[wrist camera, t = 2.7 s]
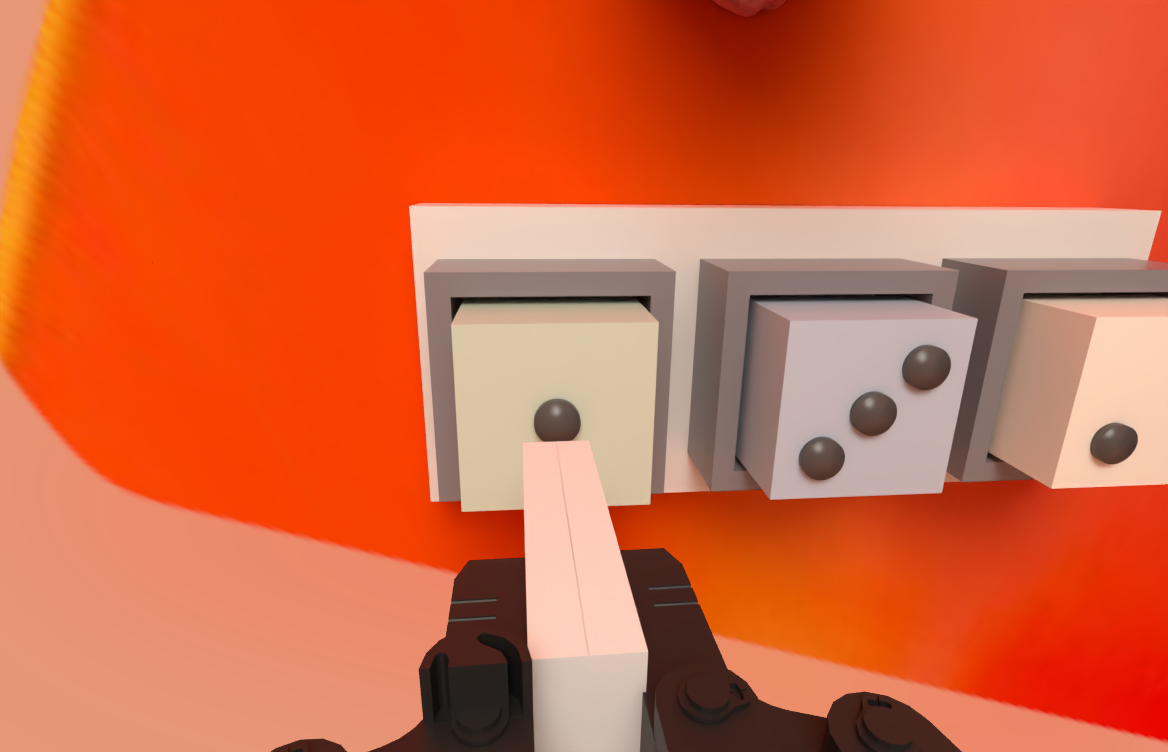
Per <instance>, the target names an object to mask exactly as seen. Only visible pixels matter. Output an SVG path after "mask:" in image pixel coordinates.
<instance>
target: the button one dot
mask: <svg viewBox="0 0 1168 752" xmlns="http://www.w3.org/2000/svg"><path fill="white" fill-rule="evenodd" d="M658 330H659V322H658V321H657V320H656V319H655V318H654V317H653V316H652V315H651V314H650V313H649V312H648V311H647V309H646V308H645V307H644V306H643V305H642V304H641V303H640V302H639V301H638V300H637V299H636V298H522V299H464V300H463V302H462V304H461V306H460V308H459V310H458V312H457V314H456V316H455V318H454V320H453V322H452V324H451V332H452V350H453V367H454V385H455V403H456V420H457V438H458V456H459V473H460V491H461V508H462V512H470V511H495V510H521V509H524V491H523V446H522V443H527V442H556V441H586V440H589V442H590V446H591V450H592V453H593V457H594V460H595V464H596V467H597V471H598V475H599V478H600V482H601V485H602V489H603V492H604V496H605V499H606V503H607V506H623V505H648V504H650V498H651V477H652V456H653V435H654V414H655V393H656V372H657V351H658Z"/></svg>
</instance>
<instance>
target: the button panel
mask: <svg viewBox="0 0 1168 752" xmlns="http://www.w3.org/2000/svg"><path fill="white" fill-rule="evenodd" d="M409 209H410V223H411V236H412V250H413V264H414V277H415V291H416V304H417V318H418V332H419V345H420V359H421V373H422V386H423V400H424V413H425V427H426V441H427V454H428V468H429V482H430V495H431V502H433V501H439V502H446V501H461V491H460V473H459V456H458V438H457V420H456V403H455V385H454V367H453V350H452V332H451V324H452V322H453V320H454V318H455V316H456V314H457V312H458V310H459V308H460V306H461V304H462V302H463V300H464V299H522V298H636V299H637V300H638V301H639V302H640V303H641V304H642V305H643V306H644V307H645V308H646V309H647V311H648V312H649V313H650V314H651V315H652V316H653V317H654V318H655V319H656V320H657V321H658V322H659V330H658V351H657V372H656V393H655V414H654V435H653V456H652V477H651V494H658V493H672V492H699V491H738V490H762V489H761V487H760V486H759V485H758V483H757V482H756V481H755V480H754V478H753V477H752V476H751V474H750V473H749V472H748V471H747V469H746V468H745V467H744V465H743V464H742V463H741V462H740V460H739V459H738V458H737V456H736V455H735V452H736V441H737V430H738V419H739V408H740V397H741V387H742V376H743V365H744V354H745V343H746V332H747V321H748V310H749V300H750V297H787V296H905V297H908V298H911V299H915V300H918V301H921V302H925V303H928V304H931V305H934V306H938V307H941V308H944V309H948V310H951V311H954V312H957V313H961V314H964V315H967V316H971V317H974V318H977V319H978V321H977V326H976V330H975V335H974V340H973V345H972V350H971V354H970V359H969V364H968V369H967V374H966V379H965V383H964V388H963V393H962V398H961V403H960V408H959V412H958V417H957V422H956V427H955V432H954V436H953V441H952V446H951V451H950V456H949V461H948V465H947V470H946V475H945V480H944V482H976V481H1003V480H1030V479H1034V478H1032V477H1030V476H1029V475H1027V474H1025V473H1024V472H1022V471H1020V470H1018V469H1017V468H1015V467H1013V466H1012V465H1010V464H1008V463H1006V462H1005V461H1003V460H1001V459H1000V458H998V457H996V456H994V455H993V454H991V453H989V452H988V449H989V444H990V440H991V435H992V431H993V427H994V422H995V418H996V413H997V409H998V405H999V400H1000V396H1001V391H1002V387H1003V383H1004V378H1005V374H1006V369H1007V365H1008V361H1009V356H1010V352H1011V347H1012V343H1013V339H1014V334H1015V330H1016V325H1017V321H1018V317H1019V312H1020V308H1021V303H1022V299H1023V295H1053V294H1152V295H1157V296H1163V297H1168V263H1163V262H1156V261H1148V257H1149V254H1150V250H1151V247H1152V243H1153V239H1154V236H1155V232H1156V229H1157V225H1158V222H1159V218H1160V215H1161V211H1154V210H1133V209H1112V208H1061V207H912V206H764V205H616V204H467V203H421V204H416V205H412V206H409Z"/></svg>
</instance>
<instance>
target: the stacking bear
mask: <svg viewBox="0 0 1168 752" xmlns="http://www.w3.org/2000/svg"><path fill="white" fill-rule="evenodd" d="M712 1H713V2H715V3H716V4H718V5H720V6H721V7H723V8H725V9H727V10H729V11H731V12H733V13H735V14H738V15H740V16H745V17H751V16H754V15H756V14H757V13H758V12H759V10H761V9H763V10H775V9H778V8H779V7H781V6H782V5H783V4H784V3H785V2H786V0H712Z"/></svg>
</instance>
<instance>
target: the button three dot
mask: <svg viewBox="0 0 1168 752" xmlns="http://www.w3.org/2000/svg"><path fill="white" fill-rule="evenodd" d="M977 321H978V319H977V318H974V317H971V316H967V315H964V314H961V313H957V312H954V311H951V310H948V309H944V308H941V307H938V306H934V305H931V304H928V303H925V302H921V301H918V300H915V299H911V298H908V297H905V296H787V297H750V300H749V310H748V321H747V332H746V343H745V354H744V365H743V376H742V387H741V397H740V408H739V419H738V430H737V441H736V452H735V455H736V456H737V458H738V459H739V460H740V462H741V463H742V464H743V465H744V467H745V468H746V469H747V471H748V472H749V473H750V474H751V476H752V477H753V478H754V480H755V481H756V482H757V483H758V485H759V486H760V487H761V489H762V490H763V491H764V493H765V494H766V495H767V496H768V498H769V499H770V500H775V499H801V498H826V497H851V496H877V495H902V494H928V493H942V490H943V485H944V480H945V475H946V470H947V465H948V461H949V456H950V451H951V446H952V441H953V436H954V432H955V427H956V422H957V417H958V412H959V408H960V403H961V398H962V393H963V388H964V383H965V379H966V374H967V369H968V364H969V359H970V354H971V350H972V345H973V340H974V335H975V330H976V326H977Z"/></svg>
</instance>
